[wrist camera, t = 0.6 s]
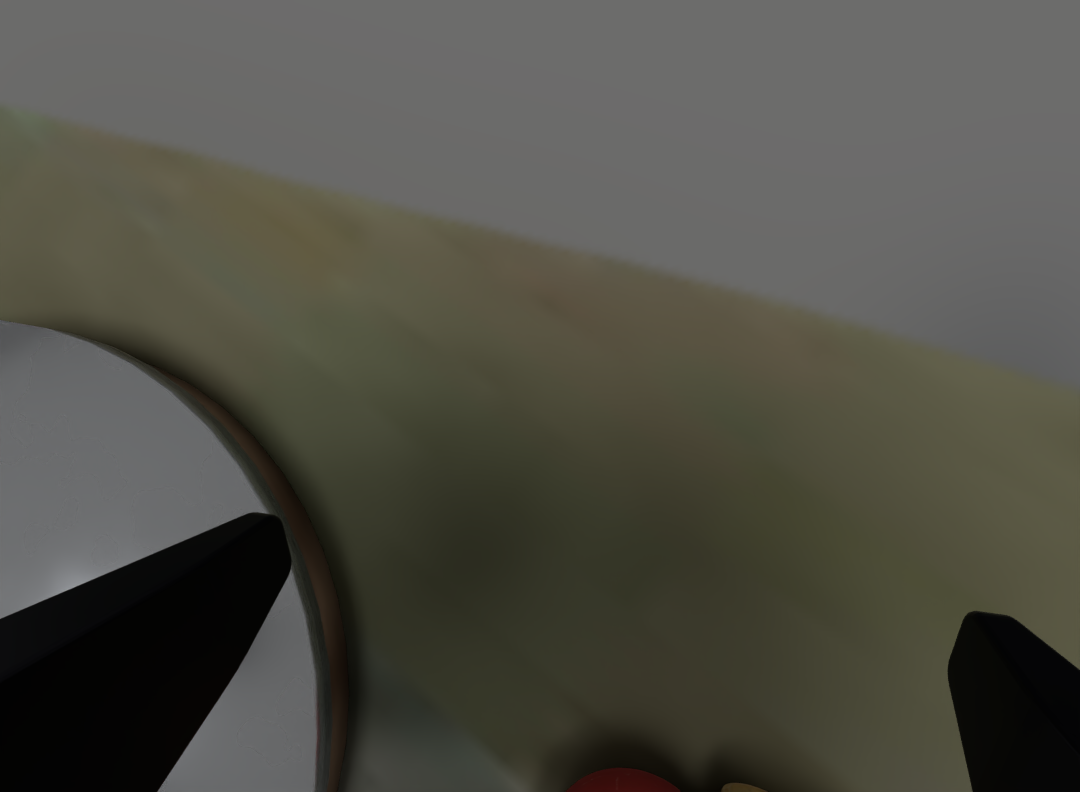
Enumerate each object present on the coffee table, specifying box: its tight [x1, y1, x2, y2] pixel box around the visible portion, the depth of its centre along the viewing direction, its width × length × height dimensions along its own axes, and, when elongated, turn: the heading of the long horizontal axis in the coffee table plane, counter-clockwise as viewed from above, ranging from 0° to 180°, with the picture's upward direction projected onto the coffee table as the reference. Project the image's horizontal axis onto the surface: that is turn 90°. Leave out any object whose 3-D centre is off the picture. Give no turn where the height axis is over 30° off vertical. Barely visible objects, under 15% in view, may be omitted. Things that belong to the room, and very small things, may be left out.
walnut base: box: [146, 363, 349, 792], centre depth 25 cm, size 28×28×2 cm
